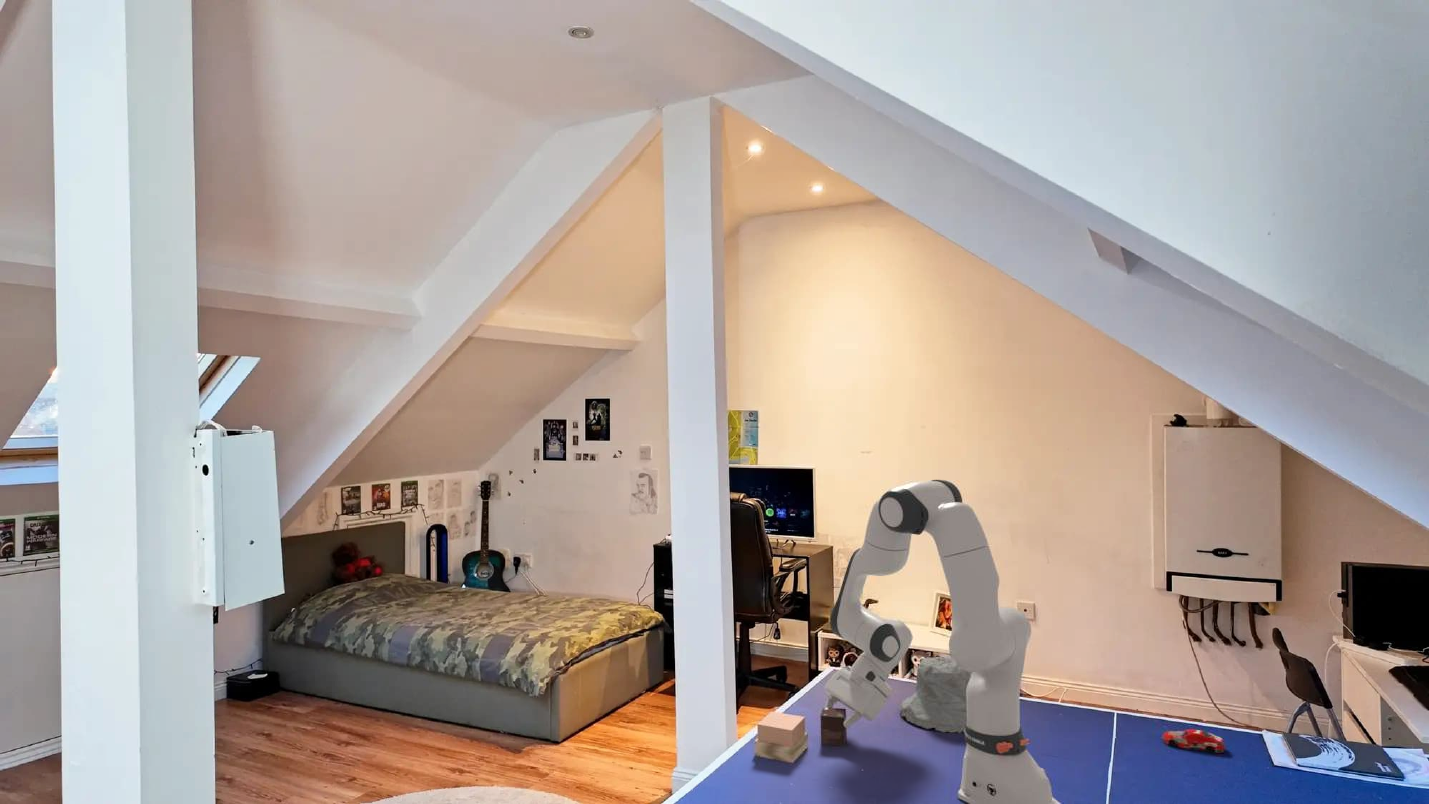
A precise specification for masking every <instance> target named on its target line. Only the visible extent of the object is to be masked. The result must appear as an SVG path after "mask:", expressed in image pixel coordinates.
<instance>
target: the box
mask: <svg viewBox="0 0 1429 804" xmlns="http://www.w3.org/2000/svg"><path fill="white" fill-rule="evenodd" d="M844 718H847V710H846V708H839V707H837V708H835V707H832V708H824V707H823V708H822V710H821V712H820V744H821V745H828V746H839V747H843V746H846V742H847V737H848V736H847V730H848V729H847V728H846V727H844V726H843V725H842V721H843V720H844Z"/></svg>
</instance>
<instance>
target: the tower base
mask: <svg viewBox="0 0 1429 804" xmlns="http://www.w3.org/2000/svg"><path fill="white" fill-rule="evenodd" d="M808 734H809V732H806V731H805V734H804V735H803V736H802V737H801V738H800V739H799V740H798V741H797V742H796V743H795V744H794V746H793V747H790V746H784V745H779V744H774V743H768V742H763V741H758V737H757V738H756V739H755V740H754V742H753V743H754V756H755V757H759V756H760V758H764V757H765V759H769V760H774V759H776V760H775V761H780V762H785V761H786V763H790V762H791V764H793V763H794V762H795V761H796V760H797V759H798V758H799V757H801V755H802V754H803V753H804V752H805V751H806V750H807V749H808V747H809V736H808ZM805 749H806V750H805ZM803 751H804V752H803Z"/></svg>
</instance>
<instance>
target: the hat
mask: <svg viewBox="0 0 1429 804" xmlns="http://www.w3.org/2000/svg"><path fill="white" fill-rule="evenodd" d="M916 669H917V670H916V671H917V673H916V685H915V692H914V693H913V694H912V695H911V696H909V697H907V698H905V700H902V702H901V703H900V706H899V713H900V714H901V717H905V718H906V722H910V723H912V724H914V725H915V726H918V727H922V728H923V729H924V728H925V729H927V730H929V729H933V728H934V729H935V731H939V732H942V733H947V732H949V734H951V733H958V734H961V733H965V732H964V729H965V723H966V721H967V702H966V689H967V685H968V682H969V680H970V677H971V674H972V672H970V671H967V670H964V669H963V668H961V667H960V666H959V665H957V664H956V662H955V661H954V660H953V658H952V657H950V658H949V657H948V658H946V657H943V656H935V657H928V656H927V657H925V658H923V659H921V660H920V662H919V664H918V666H917V668H916Z"/></svg>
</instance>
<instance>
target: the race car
mask: <svg viewBox="0 0 1429 804" xmlns="http://www.w3.org/2000/svg"><path fill="white" fill-rule="evenodd" d="M1161 738H1162V742H1164V744H1166V745H1168V746H1170V747H1174V748H1177V747H1178V748H1182V749H1189V750H1195V751H1202V752H1206V753H1210V754H1214V753H1215V754H1221V753H1224V752H1225V749H1226V745H1225V743H1224V740H1223V737H1220V736H1218V735H1215V734H1213V733H1212V732H1207V731H1205V730H1199V729H1191V728H1190V729H1185V730H1181V731H1179V730H1178V731H1177V730H1171V731H1170V730H1169V731H1166V732H1164V733H1163V734H1162V737H1161Z"/></svg>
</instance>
